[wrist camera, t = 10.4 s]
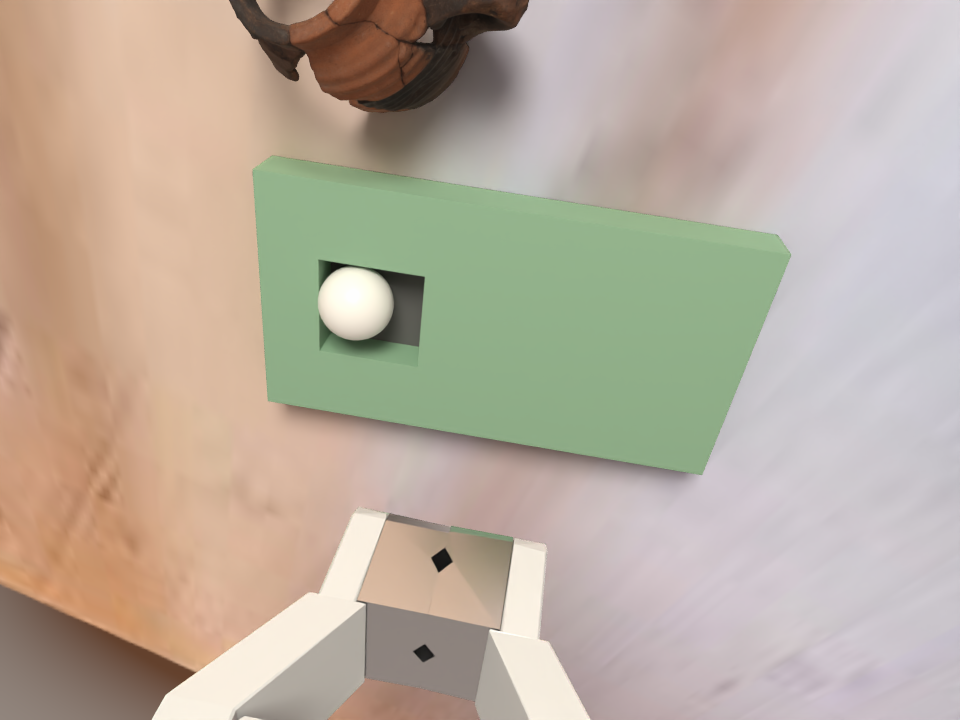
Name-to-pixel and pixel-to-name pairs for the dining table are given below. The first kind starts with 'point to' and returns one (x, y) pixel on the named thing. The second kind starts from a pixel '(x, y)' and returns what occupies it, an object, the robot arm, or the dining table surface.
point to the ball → (355, 302)
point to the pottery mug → (380, 45)
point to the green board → (512, 312)
